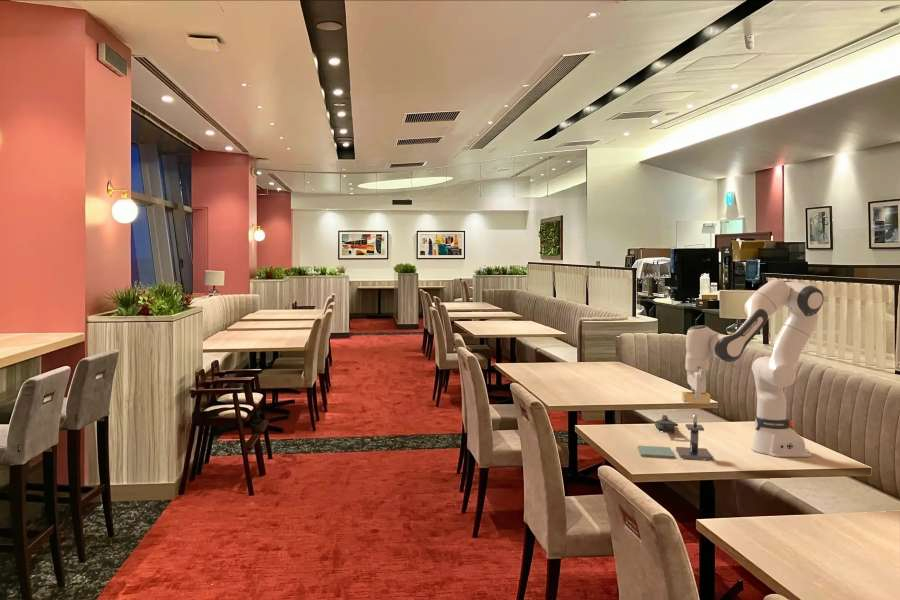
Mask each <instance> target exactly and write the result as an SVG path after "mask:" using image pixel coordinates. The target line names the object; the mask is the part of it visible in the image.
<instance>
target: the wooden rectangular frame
mask: <svg viewBox="0 0 900 600" xmlns="http://www.w3.org/2000/svg"><path fill="white" fill-rule="evenodd" d="M695 394H696V393H695V392H692V391H681V395H682V396H681V400H682V402H683V403H687V404H708V405H709V404H710V405H711V394H710V393H708V392H706V391H705V392H701V397H700V401H696V400H695Z"/></svg>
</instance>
